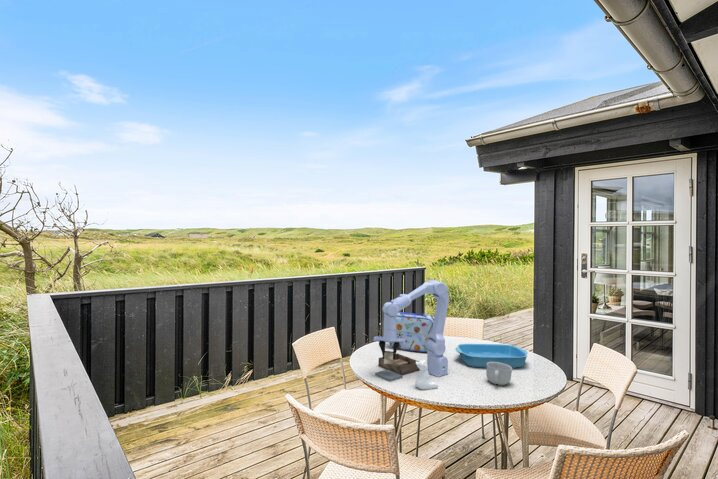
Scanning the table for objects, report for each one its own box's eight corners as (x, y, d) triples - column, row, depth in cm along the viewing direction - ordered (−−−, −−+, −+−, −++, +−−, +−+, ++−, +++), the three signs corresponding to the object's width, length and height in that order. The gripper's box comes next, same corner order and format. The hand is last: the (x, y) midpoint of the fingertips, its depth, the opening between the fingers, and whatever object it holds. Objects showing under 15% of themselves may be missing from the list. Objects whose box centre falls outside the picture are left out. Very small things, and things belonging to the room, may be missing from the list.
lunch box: (437, 349, 215) (438, 311, 215) (435, 355, 205) (436, 315, 205) (390, 344, 223) (391, 308, 223) (387, 349, 213) (388, 311, 213)
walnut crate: (420, 369, 181) (420, 361, 181) (401, 375, 173) (401, 367, 173) (396, 360, 193) (397, 353, 193) (378, 365, 185) (378, 357, 185)
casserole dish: (462, 369, 184) (462, 355, 184) (450, 355, 206) (450, 342, 206) (535, 371, 184) (536, 357, 184) (516, 356, 206) (516, 344, 206)
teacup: (491, 376, 175) (491, 359, 175) (514, 382, 168) (515, 365, 168) (479, 385, 164) (480, 367, 164) (504, 392, 157) (505, 373, 157)
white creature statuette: (439, 388, 160) (439, 360, 160) (427, 393, 154) (427, 364, 154) (421, 381, 167) (422, 354, 167) (409, 386, 161) (409, 358, 161)
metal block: (393, 362, 173) (394, 351, 174) (392, 364, 169) (393, 353, 170) (385, 361, 174) (385, 350, 175) (384, 363, 170) (384, 352, 171)
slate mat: (402, 377, 170) (402, 375, 170) (389, 381, 165) (389, 379, 165) (387, 371, 178) (387, 369, 178) (374, 374, 173) (374, 372, 173)
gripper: (406, 327, 174) (405, 356, 174) (375, 325, 177) (375, 353, 177) (404, 331, 167) (403, 361, 167) (373, 328, 170) (372, 358, 170)
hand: (388, 357), depth 172 cm, fingers closed on metal block, 4 cm apart
